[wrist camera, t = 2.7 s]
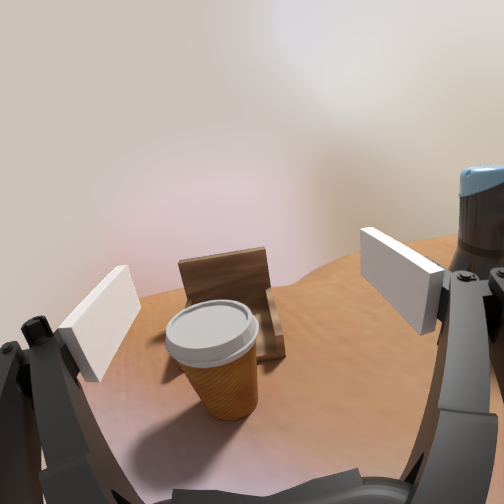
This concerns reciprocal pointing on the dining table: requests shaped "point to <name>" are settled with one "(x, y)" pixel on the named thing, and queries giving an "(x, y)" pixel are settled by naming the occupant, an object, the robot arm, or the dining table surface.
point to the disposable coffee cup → (218, 355)
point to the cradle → (238, 291)
